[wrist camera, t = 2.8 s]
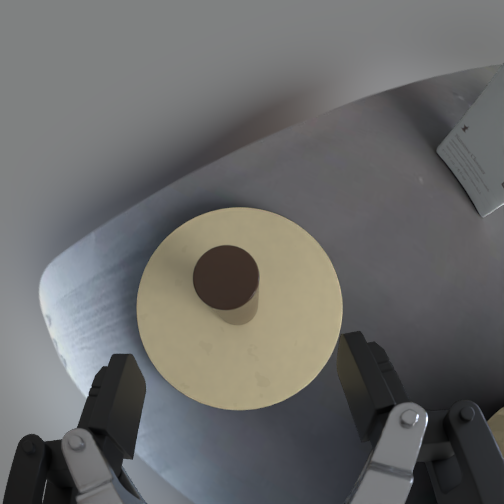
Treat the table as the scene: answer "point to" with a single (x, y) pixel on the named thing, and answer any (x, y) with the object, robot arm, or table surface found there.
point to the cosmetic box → (480, 148)
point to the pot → (498, 428)
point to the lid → (239, 308)
